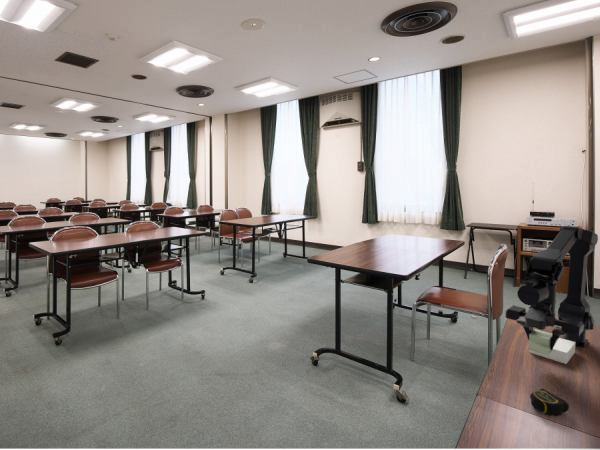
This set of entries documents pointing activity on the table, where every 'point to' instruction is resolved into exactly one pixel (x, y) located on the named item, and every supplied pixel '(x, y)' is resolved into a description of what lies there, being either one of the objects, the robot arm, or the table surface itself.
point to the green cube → (540, 342)
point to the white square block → (560, 351)
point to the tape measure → (548, 403)
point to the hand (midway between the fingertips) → (541, 346)
